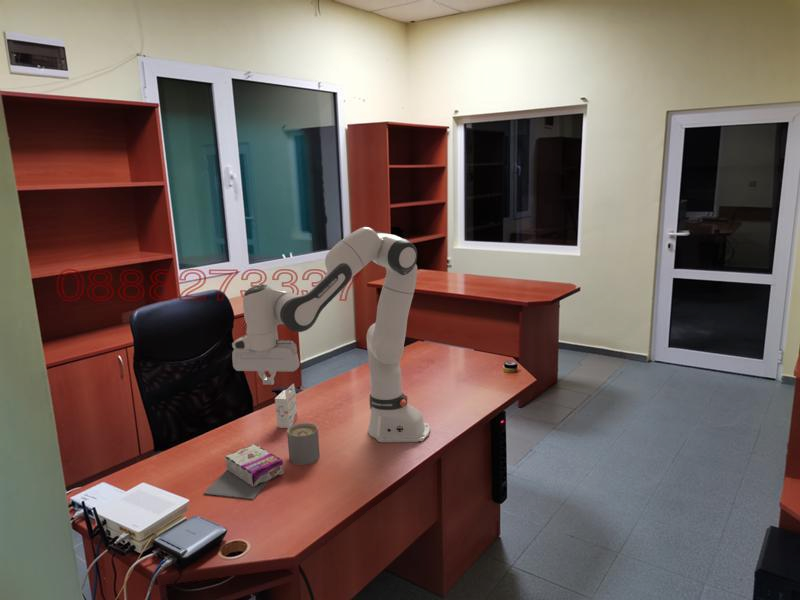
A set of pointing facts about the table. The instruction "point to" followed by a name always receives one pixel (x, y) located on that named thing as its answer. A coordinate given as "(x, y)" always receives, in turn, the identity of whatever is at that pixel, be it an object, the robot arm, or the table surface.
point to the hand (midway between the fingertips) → (268, 384)
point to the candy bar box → (254, 465)
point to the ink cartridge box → (286, 408)
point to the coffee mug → (303, 443)
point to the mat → (234, 487)
